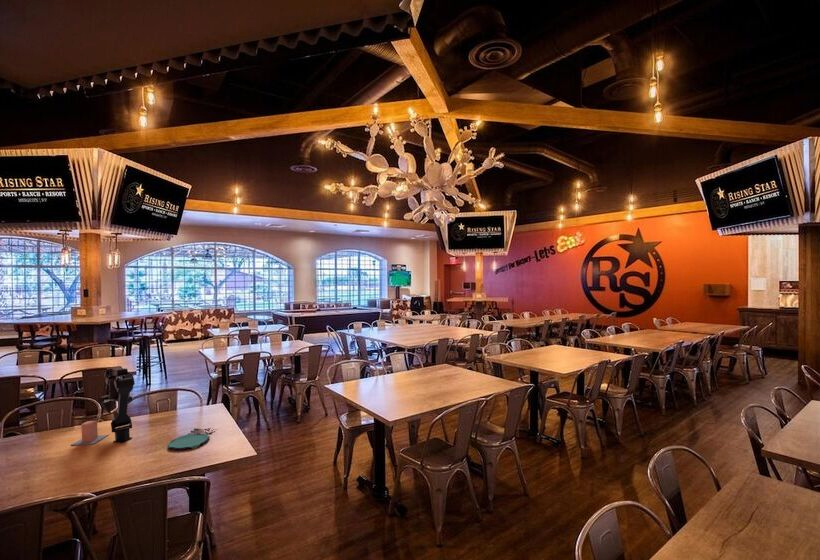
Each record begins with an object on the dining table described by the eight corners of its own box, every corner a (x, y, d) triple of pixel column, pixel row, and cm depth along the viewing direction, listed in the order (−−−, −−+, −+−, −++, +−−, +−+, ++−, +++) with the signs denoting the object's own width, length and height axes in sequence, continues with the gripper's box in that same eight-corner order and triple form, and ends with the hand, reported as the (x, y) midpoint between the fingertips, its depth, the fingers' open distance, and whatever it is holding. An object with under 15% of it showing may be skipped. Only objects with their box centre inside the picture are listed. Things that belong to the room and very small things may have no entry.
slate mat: (108, 435, 231) (108, 435, 231) (93, 444, 219) (93, 443, 219) (86, 436, 230) (86, 436, 230) (70, 445, 218) (70, 444, 218)
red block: (97, 437, 227) (97, 420, 227) (91, 441, 222) (90, 423, 222) (88, 438, 227) (88, 421, 227) (82, 441, 222) (81, 424, 222)
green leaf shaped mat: (159, 452, 208) (159, 447, 208) (191, 430, 238) (191, 426, 238) (197, 451, 207) (197, 447, 207) (224, 430, 237) (224, 426, 237)
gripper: (140, 384, 240) (140, 409, 240) (114, 383, 243) (115, 408, 244) (123, 389, 229) (124, 416, 229) (97, 388, 232) (97, 414, 233)
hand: (115, 413), depth 234 cm, fingers open, 9 cm apart
